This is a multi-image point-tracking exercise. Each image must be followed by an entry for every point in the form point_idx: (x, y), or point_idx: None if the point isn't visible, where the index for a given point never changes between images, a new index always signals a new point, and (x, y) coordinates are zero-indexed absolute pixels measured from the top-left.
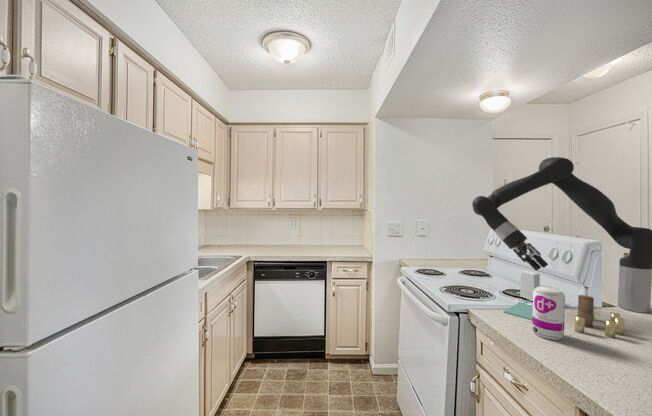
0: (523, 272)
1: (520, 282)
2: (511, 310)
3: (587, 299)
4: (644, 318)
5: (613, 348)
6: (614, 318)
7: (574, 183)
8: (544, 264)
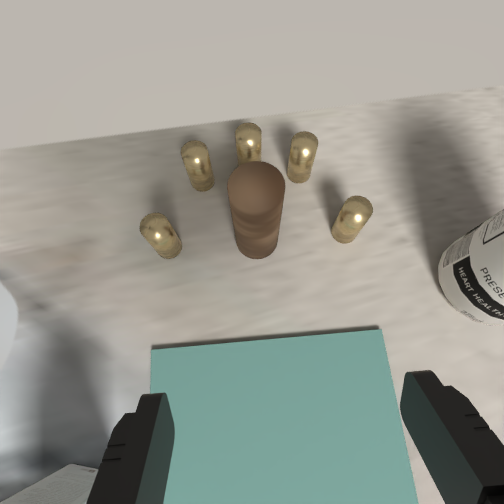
0: None
1: None
2: (368, 486)
3: (281, 177)
4: (8, 152)
5: (388, 150)
6: (254, 144)
7: None
8: (163, 424)
